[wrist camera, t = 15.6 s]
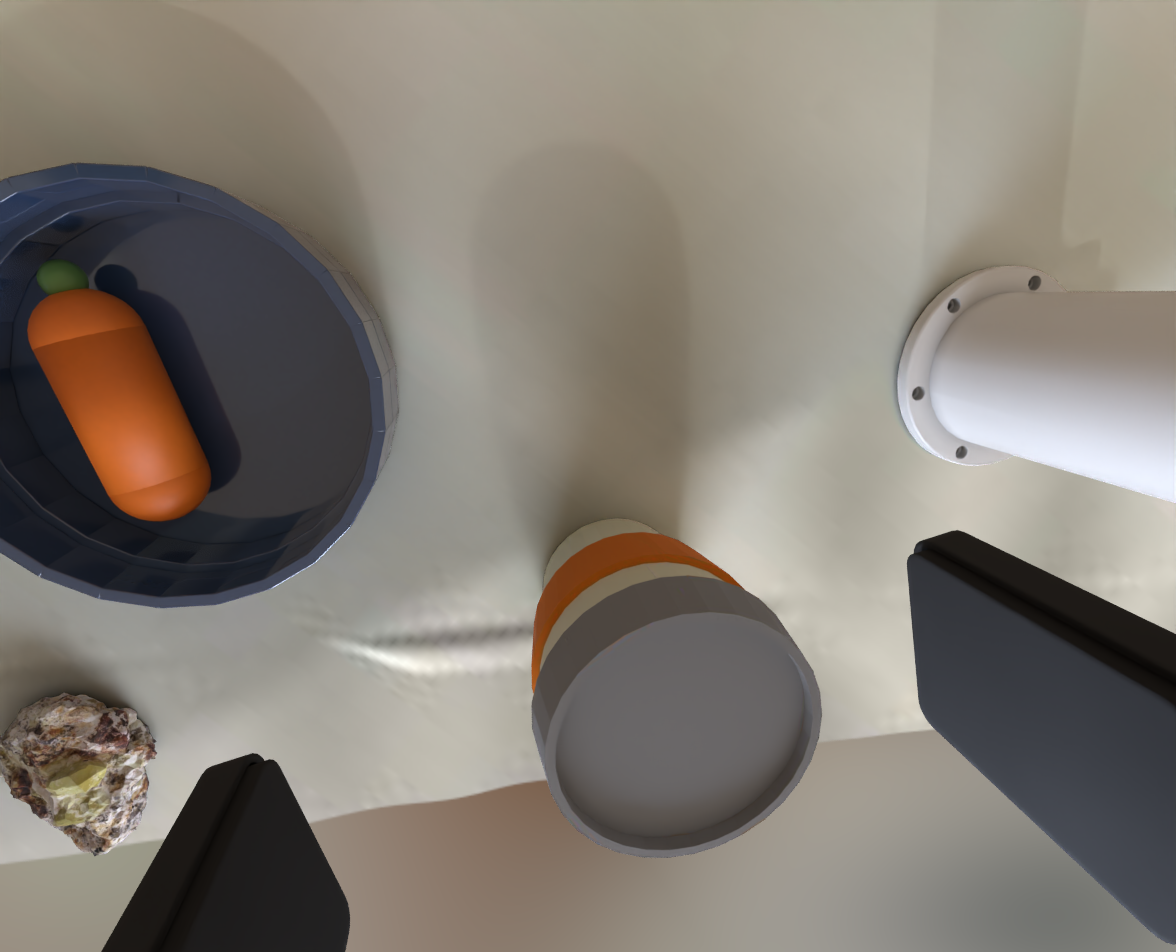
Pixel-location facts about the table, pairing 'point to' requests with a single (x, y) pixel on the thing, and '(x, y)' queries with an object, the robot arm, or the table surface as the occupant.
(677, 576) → the reusable coffee cup
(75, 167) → the blue round bowl
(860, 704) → the table surface
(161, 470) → the carrot
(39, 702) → the mineral rock
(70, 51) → the table surface
